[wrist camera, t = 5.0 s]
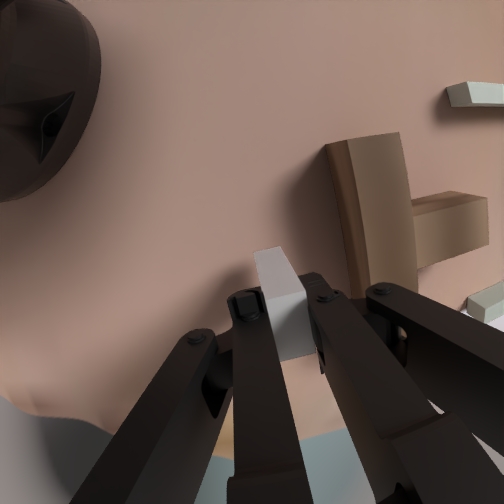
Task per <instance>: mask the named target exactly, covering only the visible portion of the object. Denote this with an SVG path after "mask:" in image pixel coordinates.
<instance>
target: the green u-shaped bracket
mask: <svg viewBox="0 0 504 504" xmlns="http://www.w3.org/2000/svg"><path fill="white" fill-rule="evenodd" d="M446 89H447V92H448V96H449V100H450V104H451V107H478V106H487V107H504V84H494V83H482V82H464V83H460V84H456V85H453V86H449V87H446ZM467 313H468V314H469V315H470V316H472V317H473V318H475V319H476V320H478V321H480V322H483V323H485V324H487V323H489V322H490V321H493V320H494V319H496V318H498V317H500V316H502V315H503V314H504V280H503V281H501V282H499V283H497V284H495V285H493V286H491V287H489V288H487V289H484V290H482V291H480V292H478V293H476V294H473V295H471V296H469V297H468V300H467Z"/></svg>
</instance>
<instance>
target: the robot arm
mask: <svg viewBox="0 0 504 504" xmlns="http://www.w3.org/2000/svg"><path fill="white" fill-rule="evenodd" d="M100 73H101V54H100V46H99V42H98V38H97V35H96V32H95V30H94V28H93V26H92V25H91V23H90V22H89V20H88V19H87V18H86V17H85V16H84V15H83V14H82V13H81V12H79V11H78V10H77V9H76V8H75V7H74V6H73V5H72V4H70V3H69V2H67V1H65V0H0V202H5V201H9V200H13V199H18V198H21V197H24V196H26V195H29V194H30V193H32V192H34V191H35V190H37V189H39V188H40V187H41V186H43V185H44V184H45V183H46V182H47V181H49V180H50V179H51V178H52V177H53V176H54V175H55V174H56V173H57V172H58V170H59V169H60V168H61V167H62V166H63V164H64V163H65V162H66V161H67V159H68V158H69V156H70V155H71V153H72V152H73V150H74V149H75V147H76V145H77V143H78V142H79V140H80V138H81V136H82V134H83V132H84V130H85V128H86V126H87V123H88V121H89V118H90V116H91V113H92V110H93V107H94V104H95V100H96V97H97V92H98V88H99V82H100ZM253 254H254V258H255V263H256V267H257V272H258V276H259V280H260V285H261V286H259V287H255V288H250V289H245V290H241V291H238V292H236V293H234V294H232V295H231V296H229V297H228V299H227V303H228V307H229V310H230V314H231V317H232V321H233V327H232V328H231V329H230V330H228V331H226V332H224V333H222V334H220V335H217V336H215V333H214V332H213V331H212V330H210V329H195V330H193V331H190V332H188V333H187V334H185V335H184V336H183V337H182V338H181V339H180V340H179V341H178V343H177V344H176V346H175V347H174V348H173V350H172V351H171V353H170V354H169V356H168V357H167V359H166V360H165V362H164V363H163V365H162V366H161V367H160V369H159V370H158V372H157V373H156V375H155V376H154V378H153V379H152V381H151V382H150V384H149V385H148V387H147V388H146V389H145V391H144V392H143V394H142V395H141V397H140V398H139V400H138V401H137V403H136V404H135V406H134V407H133V409H132V410H131V412H130V413H129V415H128V416H127V418H126V419H125V421H124V422H123V423H122V425H121V426H120V428H119V429H118V431H117V432H116V434H115V435H114V437H113V438H112V440H111V442H110V443H109V444H108V446H107V447H106V449H105V450H104V452H103V453H102V455H101V456H100V458H99V459H98V461H97V462H96V464H95V465H94V467H93V468H92V470H91V471H90V473H89V474H88V476H87V477H86V479H85V481H84V482H83V483H82V485H81V486H80V488H79V490H78V491H77V492H76V494H75V495H74V497H73V498H72V500H71V502H70V503H69V504H194V501H195V499H196V496H197V493H198V491H199V488H200V485H201V483H202V480H203V477H204V475H205V472H206V469H207V466H208V463H209V461H210V458H211V455H212V453H213V450H214V447H215V444H216V442H217V439H218V436H219V433H220V430H221V428H222V425H223V422H224V419H225V416H226V413H227V410H228V408H229V405H230V402H231V399H232V396H233V423H234V468H235V472H234V476H233V477H229V479H228V481H227V504H314V503H313V499H312V494H311V490H310V486H309V482H308V478H307V474H306V469H305V465H304V461H303V457H302V452H301V449H300V444H299V440H298V435H297V431H296V427H295V423H294V419H293V414H292V410H291V406H290V402H289V398H288V394H287V389H286V385H285V381H284V377H283V373H282V368H281V364H280V362H281V361H286V360H290V359H294V358H298V357H302V356H305V355H309V354H313V353H316V348H315V345H316V347H317V351H318V357H319V364H320V370H321V374H324V373H325V375H326V378H327V380H328V382H329V385H330V387H331V390H332V392H333V394H334V397H335V399H336V402H337V404H338V407H339V409H340V411H341V414H342V416H343V419H344V421H345V424H346V426H347V428H348V431H349V433H350V436H351V438H352V441H353V443H354V446H355V448H356V451H357V453H358V456H359V458H360V461H361V463H362V466H363V468H364V471H365V473H366V476H367V478H368V481H369V483H370V486H371V488H372V491H373V494H374V497H375V500H376V504H504V475H502V473H501V472H500V471H499V469H498V468H497V466H496V465H495V464H494V462H493V461H492V460H491V458H490V457H489V455H488V454H487V453H486V451H485V450H484V449H483V447H482V446H481V445H480V444H479V442H478V441H477V439H476V438H475V437H474V436H473V434H474V435H475V436H477V437H478V438H479V439H481V440H482V441H483V442H485V443H486V444H487V445H489V446H490V447H491V448H492V449H494V450H495V451H496V452H498V453H499V454H500V455H502V456H503V457H504V332H502V331H500V330H498V329H496V328H493V327H491V326H489V325H487V324H485V323H483V322H480V321H478V320H476V319H474V318H472V317H469V316H467V315H465V314H463V313H461V312H458V311H456V310H454V309H452V308H449V307H447V306H445V305H443V304H440V303H438V302H436V301H434V300H431V299H429V298H427V297H425V296H422V295H420V294H418V293H415V292H413V291H411V290H409V289H406V288H404V287H402V286H399V285H397V284H394V283H387V282H381V283H380V282H379V283H376V284H374V285H371V286H370V287H368V288H367V289H366V290H365V295H366V298H360V299H348V298H347V297H346V296H345V294H344V293H343V292H341V291H339V290H332V288H331V287H330V286H329V285H328V283H327V282H326V281H325V279H324V278H323V277H322V276H321V275H320V274H318V273H315V272H312V273H308V274H304V275H300V276H297V275H296V273H295V271H294V269H293V268H292V266H291V264H290V263H289V261H288V259H287V257H286V256H285V254H284V252H283V250H282V249H281V247H280V246H278V247H274V248H269V249H265V250H261V251H257V252H253ZM401 328H402V329H403V330H404V331H405V333H406V336H407V337H404V336H402V335H401ZM428 400H430V401H431V402H432V403H433V404H435V405H436V406H438V407H439V408H440V409H441V410H443V411H444V412H445V413H443V414H439V413H438V412H437V411H436V410H435V409H434V408H433V406H432V405H431V403H430V402H429V401H428ZM472 433H473V434H472Z"/></svg>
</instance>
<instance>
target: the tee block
mask: <svg viewBox="0 0 504 504" xmlns="http://www.w3.org/2000/svg"><path fill="white" fill-rule="evenodd" d="M325 147H326V152H327V156H328V161H329V165H330V170H331V174H332V179H333V184H334V189H335V194H336V199H337V204H338V210H339V215H340V221H341V227H342V232H343V238H344V245H345V251H346V257H347V264H348V271H349V278H350V286H351V293H352V299H360V298H366V295H365V290H366V289H367V288H368V287H370V286H371V285H374V284H376V283H379V282H380V283H381V282H387V283H394V284H397V285H399V286H402V287H404V288H406V289H409V290H411V291H413V292H415V293H418V271H417V269H419V268H422V267H425V266H428V265H431V264H434V263H437V262H440V261H443V260H446V259H449V258H452V257H455V256H458V255H461V254H464V253H466V252H469V251H472V250H475V249H478V248H480V247H483V246H486V245H489V222H488V203H487V198H485V197H480V196H475V195H470V194H465V193H460V192H455V191H449V192H444V193H440V194H435V195H431V196H426V197H422V198H417V199H413V200H411V196H410V189H409V183H408V176H407V170H406V164H405V159H404V154H403V148H402V143H401V139H400V134H399V132H395V133H388V134H381V135H374V136H367V137H360V138H354V139H348V140H343V141H339V142H334V143H330V144H326V145H325ZM401 335H402V336H404V337H407V336H406V333H405V331H404V330H403V329H402V328H401Z"/></svg>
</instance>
